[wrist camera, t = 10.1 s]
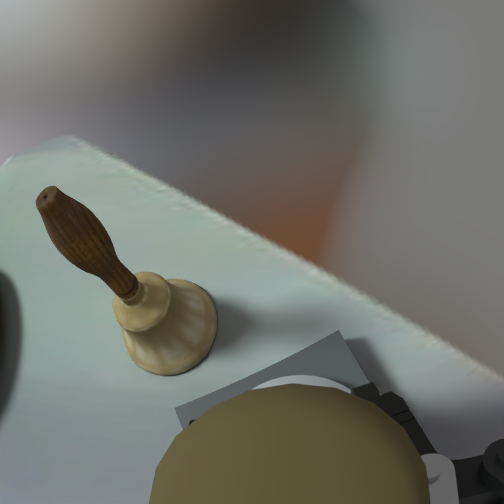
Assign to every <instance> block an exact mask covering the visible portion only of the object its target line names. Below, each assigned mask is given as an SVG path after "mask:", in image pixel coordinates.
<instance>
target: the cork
mask: <svg viewBox="0 0 504 504" xmlns="http://www.w3.org/2000/svg"><path fill="white" fill-rule="evenodd" d="M149 504H431V502H430V493H429V484H428V477H427V470H426V465H425V464H424V462H423V460H422V458H421V456H420V455H419V453H418V451H417V449H416V448H415V446H414V444H413V442H412V441H411V439H410V437H409V435H408V434H407V432H406V430H405V429H404V428H403V427H402V426H401V425H400V424H398V423H397V422H396V421H395V420H394V419H392V418H391V417H390V416H389V415H388V414H386V413H385V412H384V411H383V410H382V409H380V408H379V407H378V406H377V405H376V404H375V403H372V402H370V401H367V400H365V399H362V398H360V397H357V396H355V395H352V394H350V393H347V392H345V391H342V390H340V389H338V388H335V387H324V386H313V385H304V384H296V383H290V384H284V385H278V386H272V387H266V388H259V389H252V390H248V391H246V392H244V393H242V394H240V395H237V396H235V397H233V398H231V399H229V400H226V401H224V402H222V403H219V404H217V405H215V406H213V407H211V408H209V409H208V410H207V411H205V412H204V413H203V414H202V415H201V416H200V417H198V418H197V419H196V420H195V421H194V422H193V423H191V424H190V425H189V426H188V427H187V428H185V429H184V430H183V431H182V432H181V433H179V434H178V435H177V436H176V437H175V439H174V440H173V442H172V443H171V445H170V447H169V448H168V450H167V452H166V453H165V455H164V456H163V458H162V460H161V461H160V463H159V465H158V466H157V468H156V471H155V476H154V481H153V486H152V491H151V496H150V501H149Z"/></svg>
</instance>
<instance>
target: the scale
mask: <svg viewBox="0 0 504 504" xmlns="http://www.w3.org/2000/svg"><path fill="white" fill-rule="evenodd" d="M290 383H296V384H304V385H313V386H324V387H335V388H338V389H340V390H342V391H345V392H347V393H350V394H351V388H354V387H358V386H361V385H364V384H368V383H369V381H368V379H367V378H366V376H365V374H364V372H363V371H362V369H361V367H360V366H359V364H358V362H357V360H356V359H355V357H354V355H353V354H352V352H351V350H350V349H349V347H348V345H347V344H346V342H345V340H344V339H343V337H342V335H341V334H340V332H339V330H338V331H336V332H335V333H333V334H331V335H329V336H327V337H325V338H324V339H322V340H320V341H318V342H316V343H314V344H312V345H311V346H309V347H307V348H305V349H303V350H301V351H299V352H297V353H295V354H293V355H291V356H289V357H287V358H285V359H283V360H281V361H279V362H277V363H275V364H273V365H271V366H269V367H267V368H265V369H263V370H261V371H259V372H257V373H255V374H252V375H250V376H248V377H246V378H244V379H242V380H239V381H237V382H235V383H233V384H231V385H228V386H226V387H224V388H222V389H219V390H217V391H215V392H212V393H210V394H208V395H205V396H203V397H200V398H198V399H196V400H193V401H191V402H188V403H186V404H183V405H181V406H178V407H176V408H175V410H176V413H177V415H178V418H179V420H180V423H181V425H182V428H183V430H184V429H185V428H187V427H188V426H189V422H190V420H193V419H197V418H198V417H200V416H201V415H202V414H203V413H204V412H205V411H207V410H208V409H209V408H211V407H213V406H215V405H217V404H219V403H222V402H224V401H226V400H229V399H231V398H233V397H235V396H237V395H240V394H242V393H244V392H246V391H248V390H252V389H259V388H266V387H272V386H278V385H284V384H290ZM379 393H380V392H379ZM380 395H382V394H381V393H380Z"/></svg>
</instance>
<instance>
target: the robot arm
mask: <svg viewBox="0 0 504 504" xmlns="http://www.w3.org/2000/svg"><path fill="white" fill-rule="evenodd" d="M351 394H352V395H355V396H357V397H360V398H362V399H365V400H367V401H370V402H372V403H375V404H376V405H377V406H378V407H379V408H380V409H382V410H383V411H384V412H385V413H386V414H388V415H389V416H390V417H391V418H392V419H394V420H395V421H396V422H397V423H398V424H400V425H401V426H402V427H403V428H404V429H405V430H406V432H407V434H408V435H409V437H410V439H411V441H412V442H413V444H414V446H415V448H416V449H417V451H418V453H419V455H420V456H421V458H422V460H423V462H424V464H425V465H426V470H427V477H428V484H429V493H430V502H431V504H504V439H500V440H497V441H495V442H494V443H492V444H491V445H490V446H489V447H488V448H487V449H486V451H485V453H484V455H481V456H476V457H472V458H467V459H461V460H452V459H449V458H447V457H446V456H444V455H441V454H438V453H437V452H436V451H435V450H434V448H433V447H432V445H431V443H430V442H429V440H428V438H427V437H426V435H425V433H424V432H423V430H422V429H421V427H420V425H419V424H418V422H417V420H415V417H414V416H413V414H412V412H411V411H410V410H409V408H408V406H407V404H406V403H405V401H404V400H403V398H401V397H399V396H398V395H396V394H394V393H393V392H388V393H385V394H382V395H380V393H379V391H378V389H377V388H376V386H375V384H374V383H373V382H371V383H368V384H364V385H361V386H358V387H354V388H351ZM195 420H196V419H193V420H190V422H189V425H190V424H191V423H193V422H194V421H195Z"/></svg>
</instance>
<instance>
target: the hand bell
mask: <svg viewBox="0 0 504 504" xmlns="http://www.w3.org/2000/svg"><path fill="white" fill-rule="evenodd" d="M36 207H37V209H38V211H39V213H40V214H41V217H42V219H43V222H44V224H45V227H46V230H47V232H48V234H49V236H50V238H51V240H52V242H53V244H54V245H55V246H56V248H57V249H58V250H59V252H60V253H61V254H62V255H63V256H64V257H65V258H66V259H67V260H69V261H70V262H71V263H72V264H74V265H75V266H76V267H78V268H80V269H81V270H83V271H85V272H87V273H90V274H93V275H95V276H98V277H99V278H101V279H102V280H103V281H104V282H105V283H106V284H107V285H108V286H109V287H110V288H111V289H112V290H113V291H114V293H115V296H114V300H113V312H114V316H115V318H116V320H117V322H118V323H119V324H120V326H121V327H122V333H123V340H124V344H125V348H126V350H127V352H128V354H129V356H130V357H131V359H132V360H133V361H134V362H135V363H136V364H137V365H138V366H139V367H140V368H142V369H143V370H145V371H147V372H149V373H152V374H155V375H162V376H167V375H176V374H180V373H182V372H185V371H187V370H189V369H191V368H192V367H194V366H195V365H197V364H198V363H199V362H200V361H201V360H202V359H203V358H204V357H205V356H206V354H207V353H208V352H209V350H210V348H211V346H212V345H213V342H214V339H215V336H216V332H217V313H216V309H215V306H214V303H213V302H212V300H211V298H210V297H209V295H208V294H207V293H206V292H205V291H204V290H203V289H202V288H201V287H199V286H198V285H196V284H194V283H192V282H189V281H186V280H180V279H167V280H165V279H164V278H163V277H161V276H160V275H158V274H156V273H152V272H140V273H136V274H134V275H133V274H132V273H131V272H130V271H129V270H128V269H127V268H126V267H125V266H124V265H123V264H122V263H121V262H120V260H119V259H118V257H117V255H116V253H115V250H114V246H113V244H112V241H111V239H110V237H109V235H108V233H107V231H106V229H105V228H104V226H103V225H102V224H101V222H100V221H99V220H98V218H97V217H96V216H95V215H94V214H93V213H92V212H91V211H90V210H89V209H88V208H87V207H86V206H84V205H83V204H81V203H80V202H78V201H76V200H75V199H73V198H71V197H69V196H67V195H66V194H64V193H63V192H62V191H60V190H59V189H58V188H57V187H56V186H49V187H47V188H45V189H44V190H43V191H42V192H41V193H40V194H39V196H38V197H37V199H36Z"/></svg>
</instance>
